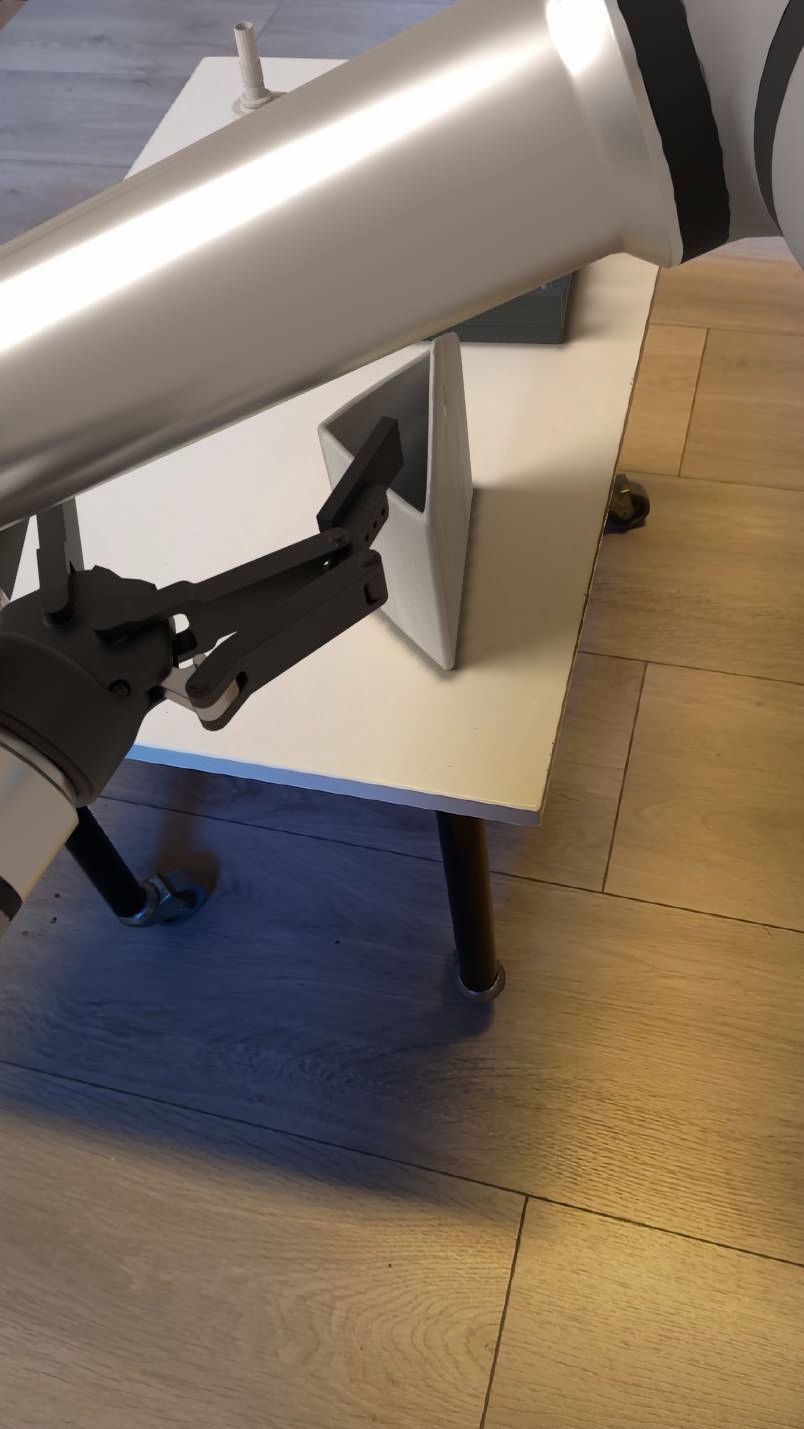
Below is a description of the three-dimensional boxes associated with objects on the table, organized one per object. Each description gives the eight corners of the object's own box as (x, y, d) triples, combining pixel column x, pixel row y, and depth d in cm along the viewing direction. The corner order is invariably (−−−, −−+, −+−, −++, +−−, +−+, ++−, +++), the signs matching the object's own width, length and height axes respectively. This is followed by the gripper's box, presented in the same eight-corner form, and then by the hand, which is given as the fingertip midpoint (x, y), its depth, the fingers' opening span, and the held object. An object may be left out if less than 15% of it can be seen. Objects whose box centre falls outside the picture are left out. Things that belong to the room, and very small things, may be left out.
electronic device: (361, 48, 98) (205, 39, 102) (373, 155, 107) (228, 143, 110) (378, 18, 101) (226, 10, 104) (388, 124, 109) (246, 114, 113)
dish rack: (585, 189, 99) (587, 128, 95) (560, 344, 88) (561, 283, 84) (368, 189, 103) (359, 131, 98) (318, 337, 92) (306, 280, 87)
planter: (366, 488, 82) (319, 254, 66) (473, 488, 81) (453, 249, 65) (334, 668, 73) (271, 448, 57) (454, 671, 72) (425, 447, 56)
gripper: (-177, 716, 51) (83, 411, 60) (298, 915, 43) (510, 527, 52) (-279, 613, 44) (30, 292, 54) (255, 824, 36) (505, 403, 46)
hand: (267, 407), depth 53 cm, fingers open, 13 cm apart
